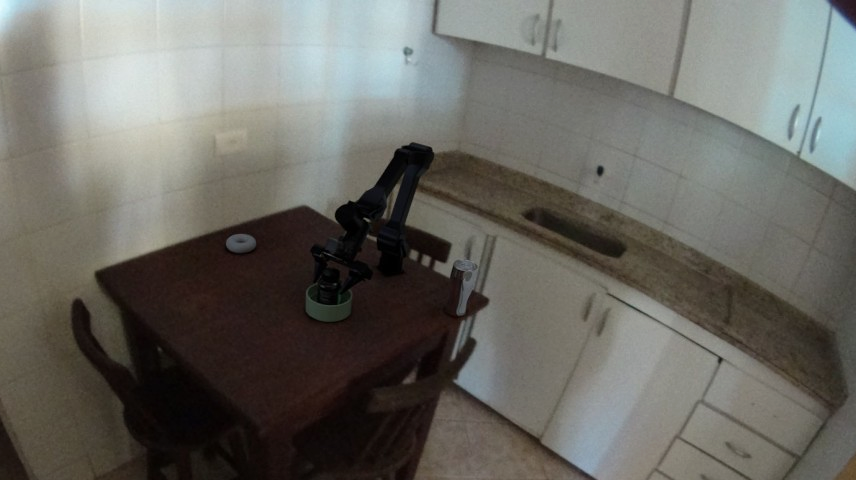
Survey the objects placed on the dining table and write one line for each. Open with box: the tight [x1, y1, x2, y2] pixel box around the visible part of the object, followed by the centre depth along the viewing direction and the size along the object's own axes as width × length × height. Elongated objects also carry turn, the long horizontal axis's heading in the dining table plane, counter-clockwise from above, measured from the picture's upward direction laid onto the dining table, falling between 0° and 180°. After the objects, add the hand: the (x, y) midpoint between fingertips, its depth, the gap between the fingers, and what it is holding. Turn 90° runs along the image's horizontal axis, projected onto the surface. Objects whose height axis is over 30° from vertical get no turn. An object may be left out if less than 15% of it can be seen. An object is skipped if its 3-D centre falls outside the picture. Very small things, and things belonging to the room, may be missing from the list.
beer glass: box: [444, 259, 479, 318], centre depth 171 cm, size 7×7×15 cm
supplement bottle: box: [317, 266, 344, 305], centre depth 170 cm, size 7×7×12 cm
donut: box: [225, 233, 257, 254], centre depth 202 cm, size 10×4×10 cm
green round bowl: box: [304, 282, 354, 323], centre depth 173 cm, size 13×13×6 cm
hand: (326, 288), depth 169 cm, fingers open, 9 cm apart
